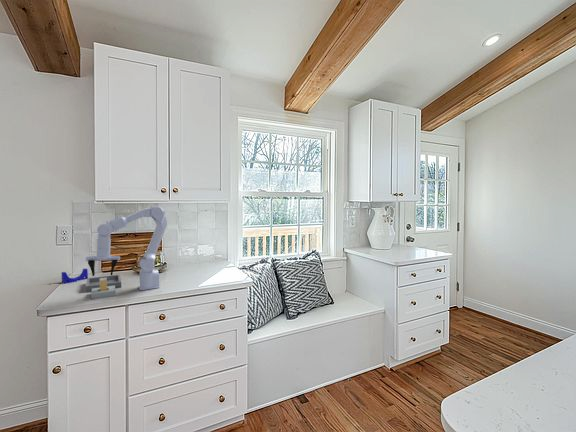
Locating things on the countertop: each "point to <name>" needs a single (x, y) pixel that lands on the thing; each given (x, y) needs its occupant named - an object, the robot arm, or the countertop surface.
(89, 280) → the tray
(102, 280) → the fuse
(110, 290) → the fuse holder
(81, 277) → the cable clip
